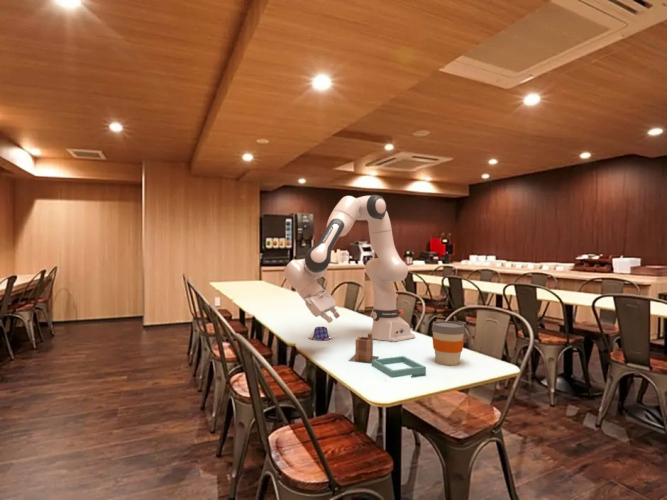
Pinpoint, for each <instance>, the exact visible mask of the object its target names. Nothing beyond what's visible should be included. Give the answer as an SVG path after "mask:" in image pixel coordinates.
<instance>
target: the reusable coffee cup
mask: <svg viewBox="0 0 667 500" xmlns="http://www.w3.org/2000/svg"><path fill="white" fill-rule="evenodd" d="M431 331H432V346H433V350H434V356H435V362H436V363H437V364H440V365H443V366H444V365H445V366H457V365H459V364H460V362H461V361H460V360H461V355H462V352H463V349H464V342H465V340H464V339H465V338H464V337H465V336H464V335H465V332H466V331H465V324H463V323H461V322H456V321H451V320H450V321H449V320H437V321H433V322H432V327H431Z"/></svg>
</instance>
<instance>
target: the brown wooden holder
mask: <svg viewBox="0 0 667 500" xmlns="http://www.w3.org/2000/svg"><path fill="white" fill-rule="evenodd" d="M373 350H374V339H373V338H372V334H371V332H370V333H368V334H367V336H362V335H361V336H360V335H359V336H358V337H356V339H355V351H354V353H355V354H354V355H355V360H359V361H368V362H370V360H371V359H372V358H373V356H374V354H373V353H374V351H373Z"/></svg>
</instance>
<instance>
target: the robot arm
mask: <svg viewBox="0 0 667 500" xmlns="http://www.w3.org/2000/svg"><path fill="white" fill-rule="evenodd" d="M356 221H367V223H368V233H369V241H370V246H371V249H372V251H374V253H375V254H376V256H377V257H376V258H372V259H369V260H368V261H367V262H366V263H365V266H364V267H365V269H364V270H365V274H366V275H367V276H368V278H369V279H370V282H371V286H372V290H373V307H372V327H371V332H370V333H371V334H372V338H373V340H378V341H387V342H398V341H399V342H400V341H405V340H412V339H415V338H416V335H415V334H414V333H412V332H411V326H410V324H409V323H408V322H406V321H405V320H404V319H403V318H402V317H401V316H400V315H403V314H404V310H403V309H398V308H397V298H398V297H397V292H396V290H395V289H394V288H393V286H392V284H391V283H397V282H402V281H404V280H405V279H406V278H407V276H408V274H409V273H408V272H409V267H408V265H407V263H406V262H405V261H404V260H402V258H401V257H400V254H399V253H398V251H397V249H396V246H395V242H394V236H393V231H392V230H393V229H392V224H391V220H390V217H389V213H388V211H387V203H386V200H385V199H384V197H383V196H381V195H378V194H372V195H364V196H359V197H354V196H353V195H346V196H343V197H342V198H341V199H340V200H339V202H338V203H337V204H336V205H335V207H334V208H333V210H332V212H331V213H330V215H329V217H328V220H327V223H326V228H325V230H324V232H323V233H322V235H321V237H320V238H319V239H318V241H317V243H316V244H314V245H313V246H311V247H310V248H309V249H308V250H307V251H306V252H305V255H304V258H300V259H292V260H290V261H288V263H287V264H286V265H285V267H284V269H283V276H284V278H285V279H286V281H287V282H288V283H289V284H290V286H291V287H292V288H293V289H295V290H296V292H297V293H298V295H299V296H300V298H301V299H302V300H303V302H305V303H304V304H305V306H306V307H307V309H308V310H309V311H310V313H311V314H312V315H313V316H314V317H316V318H318V317H321V318H322V319H324V320H325V321H326V322H327V323H328V324H329V323H332V322H333V318H332V317H331V316H330V315H329V314H327V313H328V312H330V313H332V315H333V317H334V318H335V319H336V320H337V319H338V318H340V316H341V315H340V313H339V311H338V310H337V308H336V306H338V305H337V304H338V303H337V302H336V299H334V297H333V296H332V295H331V294H330V292H328V291H327V290H328V289H327V288H326V286H324V285H322V284H320V283H318V282H317V280H320V279H321V278H322V277H324V276H325V274H326V273H327V271H328V268H329V266H330V262H331V253H332V249H333V248H334V246H335V245H336V242H337V241H338V239H340V237H345V236H347V234H348V233H349V232H350V231H351V229H352V228H353V225H354V224H355V222H356Z"/></svg>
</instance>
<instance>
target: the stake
mask: <svg viewBox="0 0 667 500" xmlns="http://www.w3.org/2000/svg"><path fill="white" fill-rule="evenodd" d="M379 357H380V356H374V355H373V358H372V359H371V360H370V362H368V361H359V360H355V354H354V355H353V356H352V357H351V358H349V360H348V362H354V363H362V364H368V365H369V364H370V365H372V360H374V359H380V358H379Z"/></svg>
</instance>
